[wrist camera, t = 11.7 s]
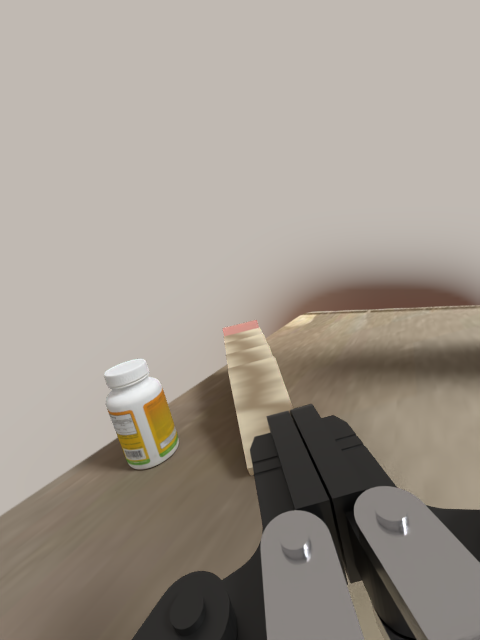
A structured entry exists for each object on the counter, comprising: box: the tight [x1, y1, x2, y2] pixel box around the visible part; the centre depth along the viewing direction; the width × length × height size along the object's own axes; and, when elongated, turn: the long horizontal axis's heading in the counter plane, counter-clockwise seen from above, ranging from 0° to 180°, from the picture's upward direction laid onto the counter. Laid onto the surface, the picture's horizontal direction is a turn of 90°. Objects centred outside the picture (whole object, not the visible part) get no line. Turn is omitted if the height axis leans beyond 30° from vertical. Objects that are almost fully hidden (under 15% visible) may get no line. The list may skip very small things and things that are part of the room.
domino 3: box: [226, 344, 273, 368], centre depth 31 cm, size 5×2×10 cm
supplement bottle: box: [104, 359, 179, 469], centre depth 30 cm, size 5×5×10 cm
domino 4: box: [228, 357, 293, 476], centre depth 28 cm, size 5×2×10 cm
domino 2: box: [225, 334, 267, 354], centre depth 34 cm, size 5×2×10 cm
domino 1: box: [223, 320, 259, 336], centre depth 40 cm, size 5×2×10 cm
